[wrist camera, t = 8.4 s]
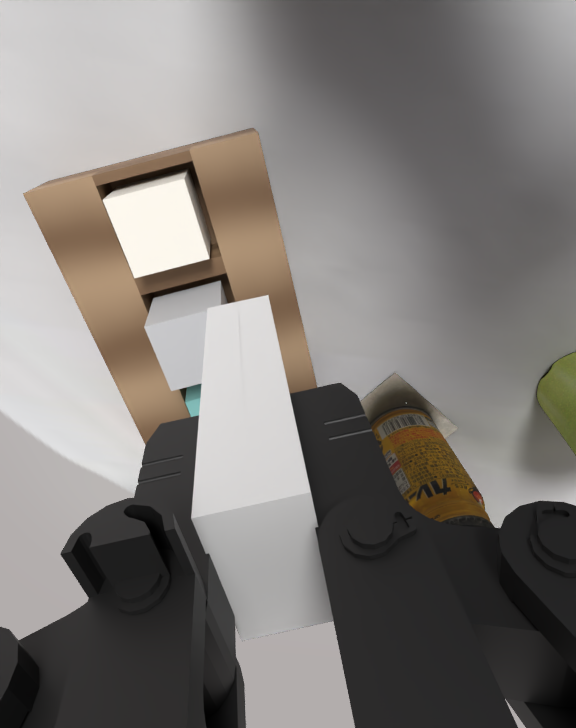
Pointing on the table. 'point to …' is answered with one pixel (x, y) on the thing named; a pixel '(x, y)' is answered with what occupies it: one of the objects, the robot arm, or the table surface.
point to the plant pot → (561, 397)
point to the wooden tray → (135, 295)
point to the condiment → (423, 455)
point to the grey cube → (182, 331)
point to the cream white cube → (159, 223)
